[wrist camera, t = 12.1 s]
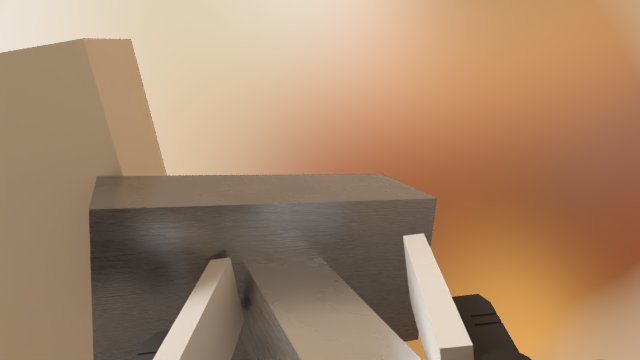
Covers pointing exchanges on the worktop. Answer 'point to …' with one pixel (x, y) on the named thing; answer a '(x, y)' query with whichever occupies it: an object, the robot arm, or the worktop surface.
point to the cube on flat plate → (259, 260)
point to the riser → (62, 183)
